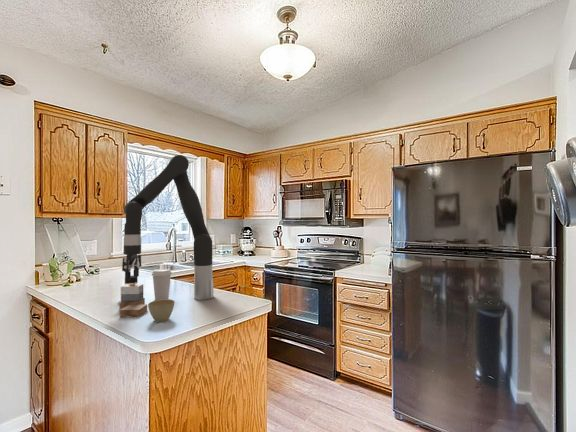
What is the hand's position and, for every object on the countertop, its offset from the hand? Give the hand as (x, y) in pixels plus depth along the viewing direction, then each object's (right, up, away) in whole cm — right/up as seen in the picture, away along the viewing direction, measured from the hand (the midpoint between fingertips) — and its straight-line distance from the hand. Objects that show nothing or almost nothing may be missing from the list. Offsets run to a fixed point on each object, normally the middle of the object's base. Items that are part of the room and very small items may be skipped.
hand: (132, 278), depth 147 cm
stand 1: (0, -13, 0) cm, 13 cm away
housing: (0, -10, 0) cm, 10 cm away
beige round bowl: (+22, -13, -20) cm, 33 cm away
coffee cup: (+9, -14, +13) cm, 21 cm away
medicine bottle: (-7, -14, +13) cm, 21 cm away
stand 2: (+7, -13, -12) cm, 19 cm away
